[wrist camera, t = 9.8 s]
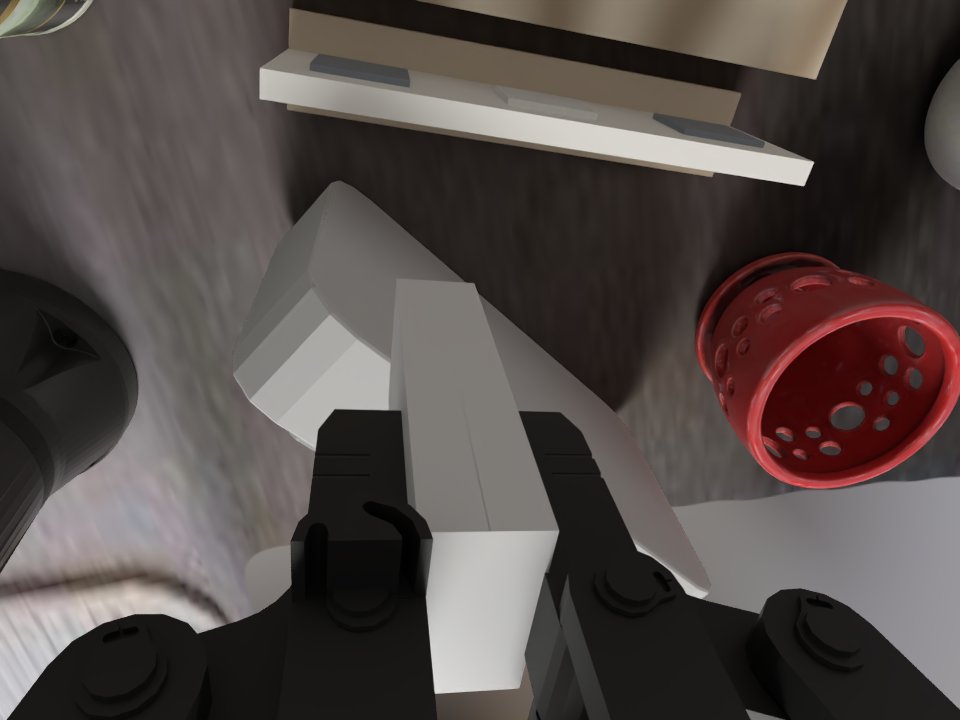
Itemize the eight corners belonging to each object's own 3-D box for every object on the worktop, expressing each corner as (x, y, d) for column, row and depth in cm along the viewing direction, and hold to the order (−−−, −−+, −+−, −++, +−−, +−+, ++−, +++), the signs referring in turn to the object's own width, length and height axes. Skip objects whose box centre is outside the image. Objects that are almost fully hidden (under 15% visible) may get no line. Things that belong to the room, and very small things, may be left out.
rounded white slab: (259, 258, 41) (181, 426, 25) (336, 168, 38) (302, 293, 23) (553, 475, 53) (621, 677, 38) (623, 417, 51) (726, 606, 35)
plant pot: (869, 230, 45) (1011, 303, 35) (814, 387, 52) (919, 487, 41) (693, 231, 43) (788, 309, 33) (659, 393, 50) (729, 499, 40)
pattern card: (289, 106, 36) (259, 145, 28) (292, 7, 34) (260, 16, 25) (705, 173, 41) (788, 222, 33) (733, 90, 39) (831, 121, 30)
